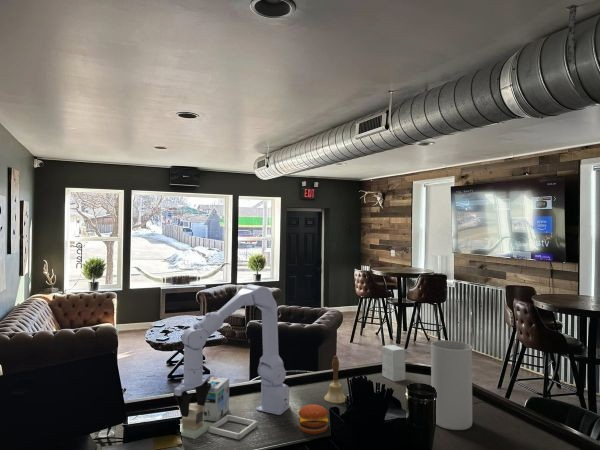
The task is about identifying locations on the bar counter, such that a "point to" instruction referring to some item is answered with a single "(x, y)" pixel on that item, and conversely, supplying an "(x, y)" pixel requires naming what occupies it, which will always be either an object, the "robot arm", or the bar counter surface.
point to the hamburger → (313, 419)
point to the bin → (230, 434)
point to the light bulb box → (217, 399)
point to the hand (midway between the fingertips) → (192, 411)
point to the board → (197, 432)
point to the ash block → (194, 417)
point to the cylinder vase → (452, 383)
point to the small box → (393, 362)
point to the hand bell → (335, 386)
